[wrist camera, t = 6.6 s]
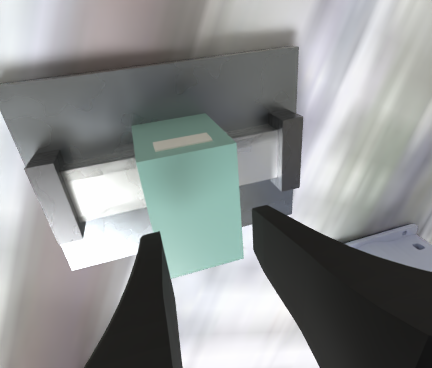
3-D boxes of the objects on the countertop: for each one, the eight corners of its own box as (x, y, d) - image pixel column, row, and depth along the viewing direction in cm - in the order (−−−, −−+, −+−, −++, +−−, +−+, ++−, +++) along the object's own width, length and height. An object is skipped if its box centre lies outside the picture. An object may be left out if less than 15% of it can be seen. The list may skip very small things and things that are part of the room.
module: (205, 111, 16) (236, 141, 12) (215, 207, 19) (243, 258, 15) (131, 124, 15) (135, 160, 11) (154, 222, 18) (165, 280, 14)
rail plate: (291, 46, 17) (317, 48, 14) (286, 208, 22) (305, 228, 20) (-4, 84, 14) (-28, 95, 11) (74, 261, 19) (67, 292, 17)
